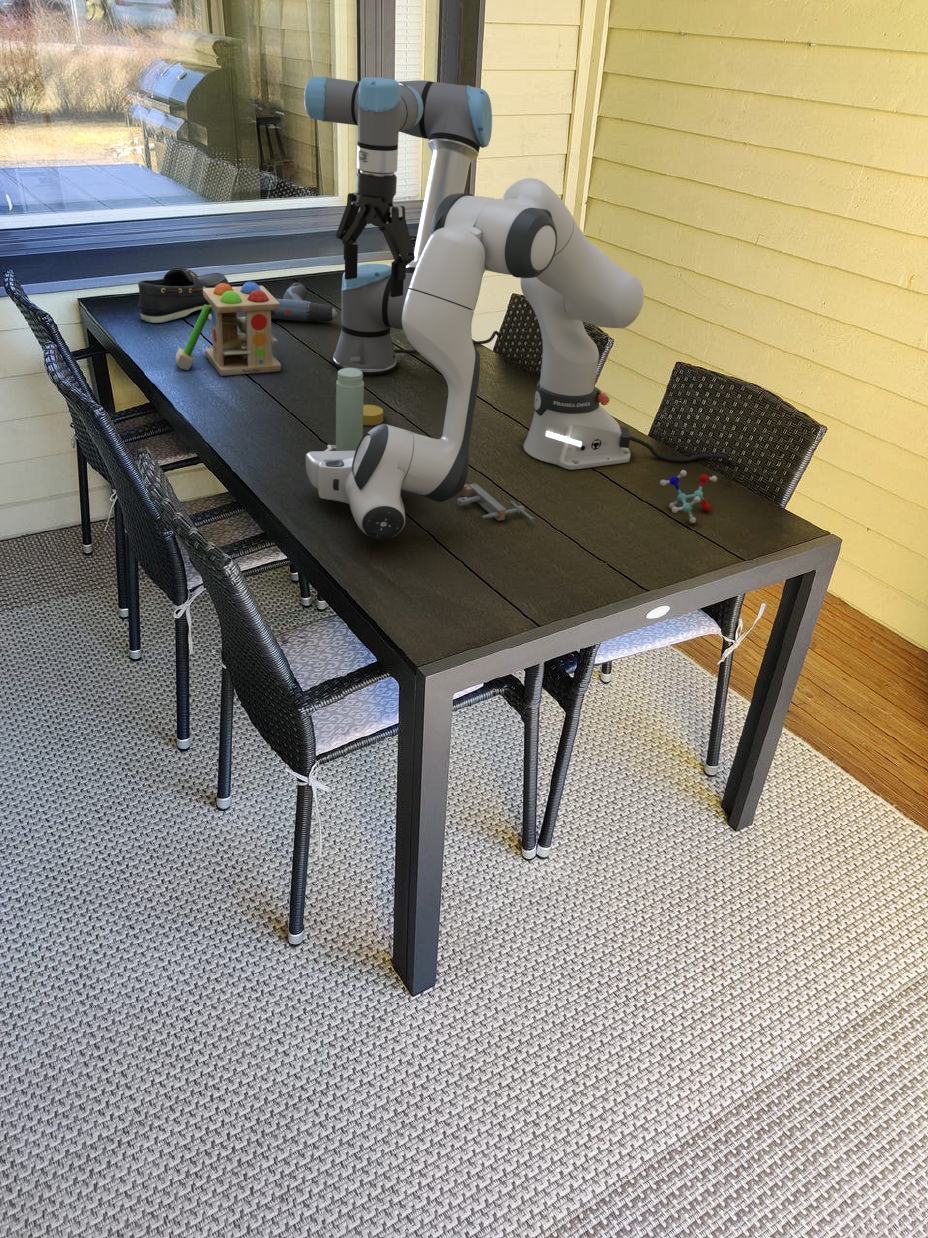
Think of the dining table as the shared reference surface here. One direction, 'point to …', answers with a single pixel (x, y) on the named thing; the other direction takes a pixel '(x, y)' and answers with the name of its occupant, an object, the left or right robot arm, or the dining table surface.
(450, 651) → the dining table surface
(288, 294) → the power drill
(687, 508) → the molecular model
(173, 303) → the boat shoe
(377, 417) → the lid
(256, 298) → the pounding bench toy
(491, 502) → the clamp
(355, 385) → the jar
